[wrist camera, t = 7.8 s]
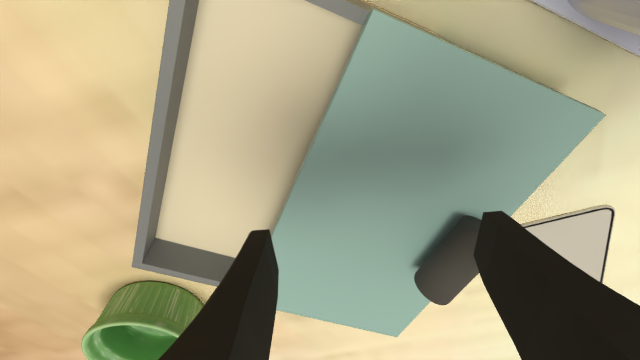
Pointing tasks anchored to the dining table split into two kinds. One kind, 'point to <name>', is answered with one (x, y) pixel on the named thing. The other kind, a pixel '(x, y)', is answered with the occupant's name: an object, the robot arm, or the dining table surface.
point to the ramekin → (140, 322)
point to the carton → (235, 123)
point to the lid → (412, 176)
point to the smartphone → (579, 237)
